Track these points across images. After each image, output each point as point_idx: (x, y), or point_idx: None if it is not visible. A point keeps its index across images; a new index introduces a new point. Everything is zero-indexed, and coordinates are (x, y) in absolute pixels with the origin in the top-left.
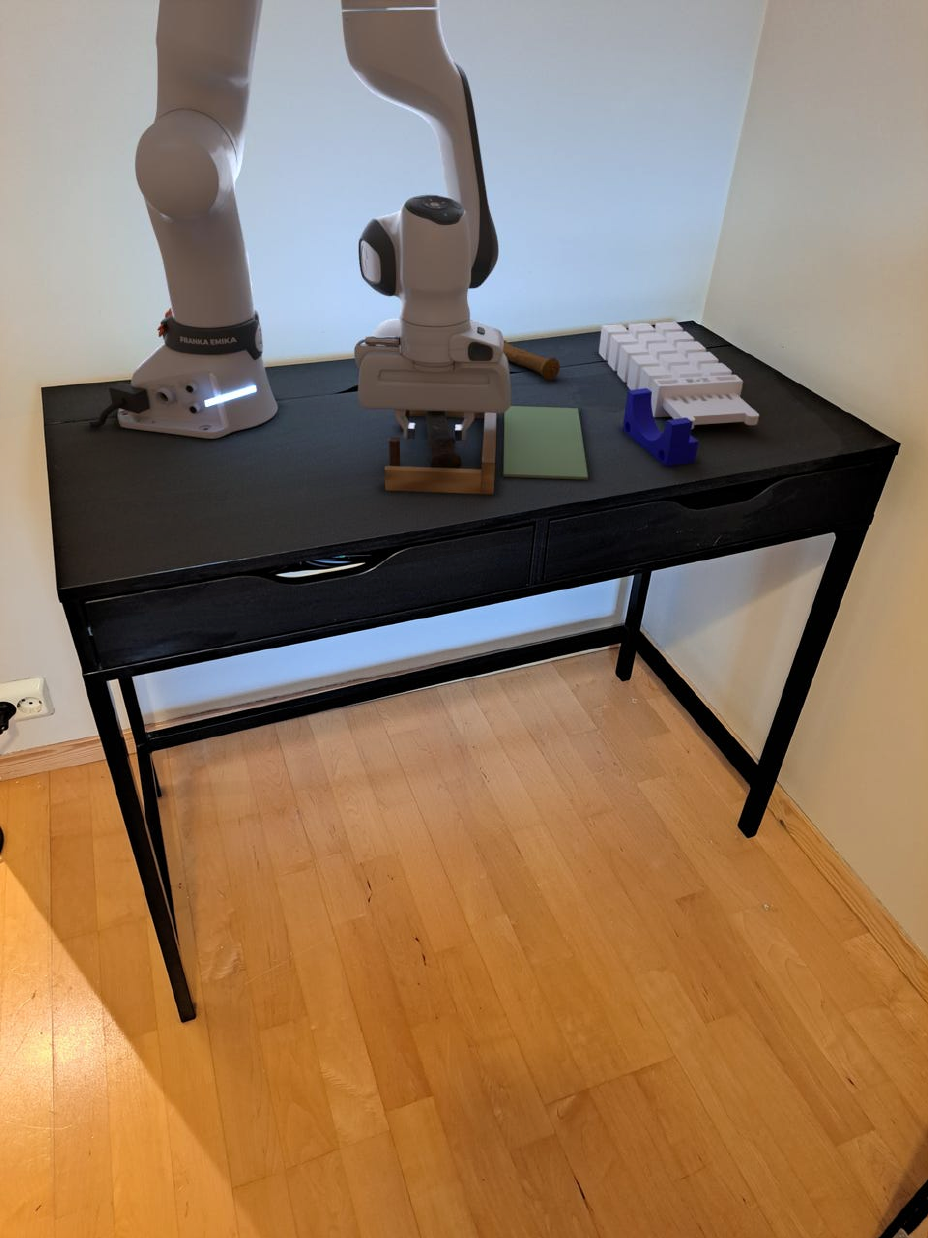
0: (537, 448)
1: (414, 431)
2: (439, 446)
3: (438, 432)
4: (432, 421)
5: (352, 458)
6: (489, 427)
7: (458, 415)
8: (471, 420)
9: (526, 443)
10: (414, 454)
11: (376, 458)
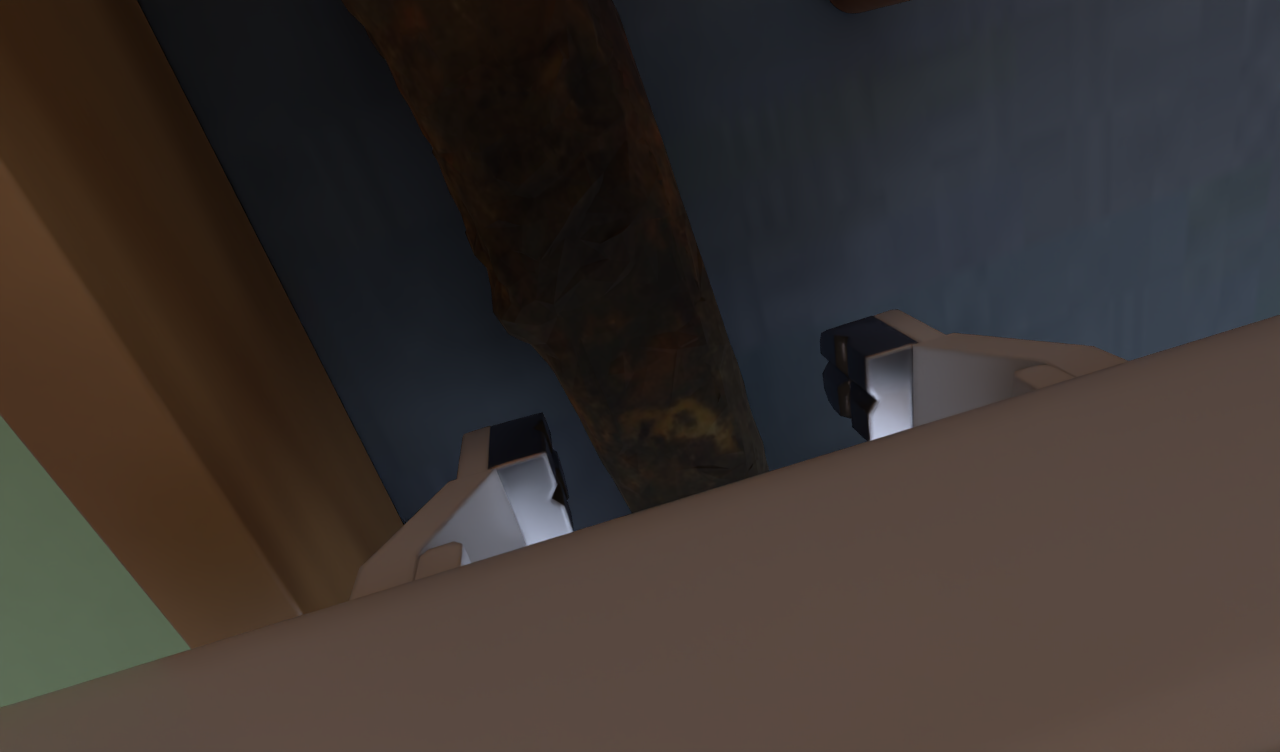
0: (11, 598)
1: (848, 366)
2: (560, 48)
3: (662, 356)
4: None
5: (1133, 80)
6: (174, 525)
7: None
8: (388, 551)
9: (130, 625)
10: (775, 266)
11: (993, 130)
